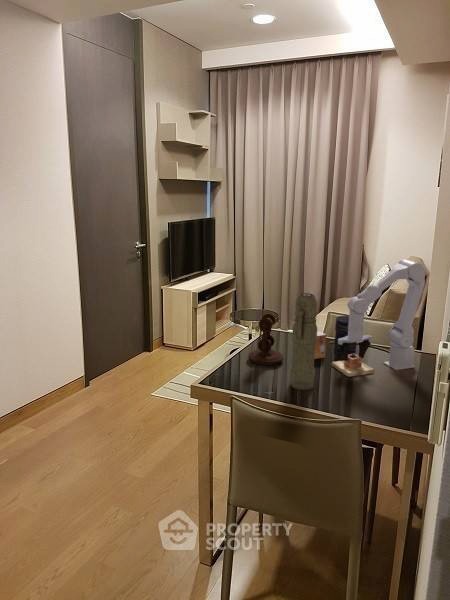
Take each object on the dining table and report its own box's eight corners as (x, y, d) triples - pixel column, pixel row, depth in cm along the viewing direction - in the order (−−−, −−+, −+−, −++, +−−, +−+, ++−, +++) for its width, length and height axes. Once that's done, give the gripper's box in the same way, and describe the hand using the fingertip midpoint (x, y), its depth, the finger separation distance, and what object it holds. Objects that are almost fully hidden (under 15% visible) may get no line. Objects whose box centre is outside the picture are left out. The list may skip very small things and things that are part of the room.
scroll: (252, 353, 207) (253, 309, 202) (285, 356, 203) (287, 312, 198) (244, 365, 193) (245, 319, 188) (279, 369, 189) (281, 322, 184)
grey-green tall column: (285, 389, 172) (290, 297, 163) (294, 377, 182) (298, 290, 173) (309, 393, 168) (315, 300, 160) (317, 381, 179) (322, 292, 170)
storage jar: (358, 354, 206) (361, 322, 202) (336, 354, 206) (338, 322, 202) (352, 346, 216) (355, 315, 212) (331, 346, 216) (333, 315, 212)
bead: (354, 362, 193) (354, 353, 192) (361, 367, 189) (362, 357, 188) (343, 364, 192) (344, 355, 191) (350, 368, 187) (351, 359, 186)
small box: (310, 360, 199) (311, 337, 197) (302, 356, 204) (303, 333, 201) (325, 357, 203) (326, 334, 200) (317, 353, 208) (318, 330, 205)
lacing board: (356, 361, 198) (357, 347, 196) (373, 372, 187) (375, 357, 185) (331, 365, 194) (332, 350, 192) (348, 376, 183) (349, 361, 182)
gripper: (345, 331, 180) (343, 364, 183) (377, 328, 185) (374, 360, 188) (335, 326, 186) (333, 358, 190) (366, 323, 191) (363, 354, 195)
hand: (353, 359), depth 189 cm, fingers open, 7 cm apart
